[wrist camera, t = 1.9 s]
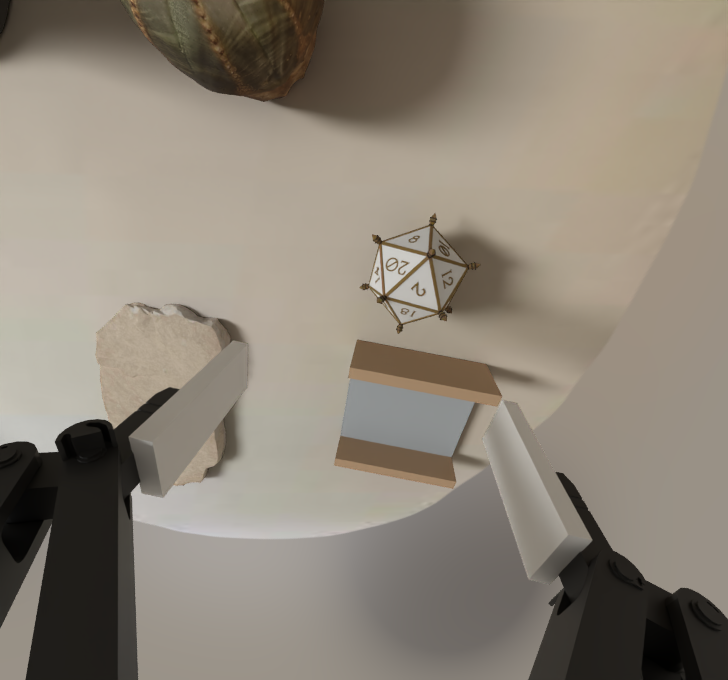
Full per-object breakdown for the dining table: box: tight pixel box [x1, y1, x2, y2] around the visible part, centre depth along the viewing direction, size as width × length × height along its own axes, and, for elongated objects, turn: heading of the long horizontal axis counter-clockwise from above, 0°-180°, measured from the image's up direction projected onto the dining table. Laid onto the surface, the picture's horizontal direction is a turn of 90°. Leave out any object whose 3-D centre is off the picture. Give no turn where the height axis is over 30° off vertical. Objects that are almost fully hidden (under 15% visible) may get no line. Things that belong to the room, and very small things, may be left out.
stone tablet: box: [95, 303, 231, 486], centre depth 39 cm, size 16×30×2 cm, turn 163°
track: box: [334, 340, 502, 489], centre depth 33 cm, size 14×14×6 cm
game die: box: [360, 214, 481, 334], centre depth 25 cm, size 9×8×10 cm
